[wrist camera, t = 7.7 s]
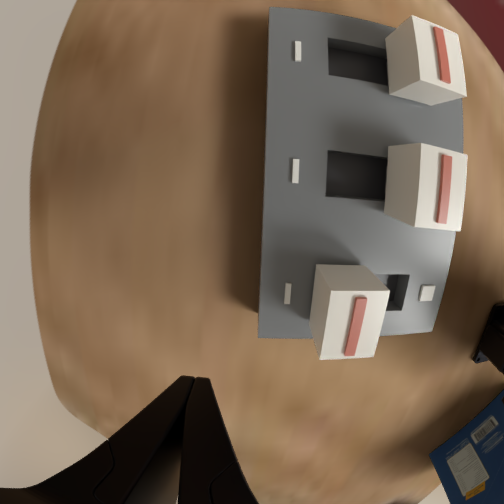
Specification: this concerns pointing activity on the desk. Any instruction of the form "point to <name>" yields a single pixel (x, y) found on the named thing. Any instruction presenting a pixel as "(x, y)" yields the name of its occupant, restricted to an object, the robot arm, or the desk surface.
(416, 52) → the slider
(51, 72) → the desk surface
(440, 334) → the desk surface
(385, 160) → the switch box
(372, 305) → the slider
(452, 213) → the slider
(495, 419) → the protein box
